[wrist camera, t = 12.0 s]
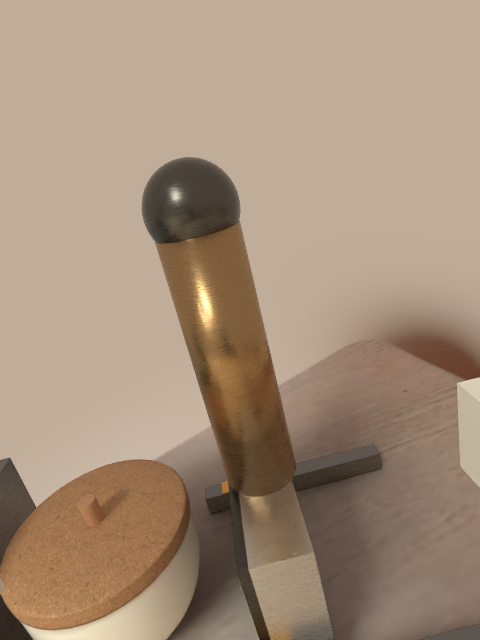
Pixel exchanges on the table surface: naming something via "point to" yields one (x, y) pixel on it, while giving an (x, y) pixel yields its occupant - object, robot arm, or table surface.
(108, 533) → the lidded jar
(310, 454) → the table surface
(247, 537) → the gold upright rod
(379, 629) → the table surface
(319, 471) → the bench
